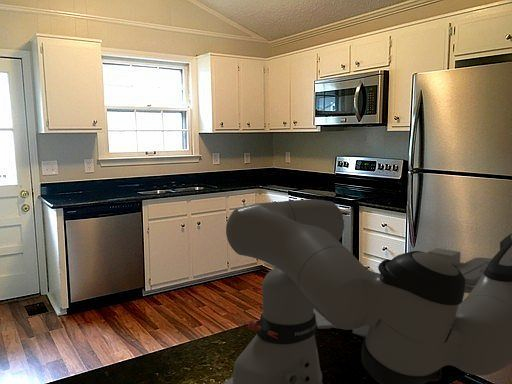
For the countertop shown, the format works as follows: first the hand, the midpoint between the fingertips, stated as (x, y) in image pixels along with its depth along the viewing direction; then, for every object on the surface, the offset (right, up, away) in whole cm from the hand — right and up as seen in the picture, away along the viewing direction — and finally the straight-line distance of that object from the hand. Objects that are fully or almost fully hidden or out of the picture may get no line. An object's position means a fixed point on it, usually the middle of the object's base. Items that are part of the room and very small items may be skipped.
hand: (440, 268), depth 112 cm
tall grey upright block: (+1, -6, 0) cm, 6 cm away
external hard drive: (-26, -18, +13) cm, 35 cm away
